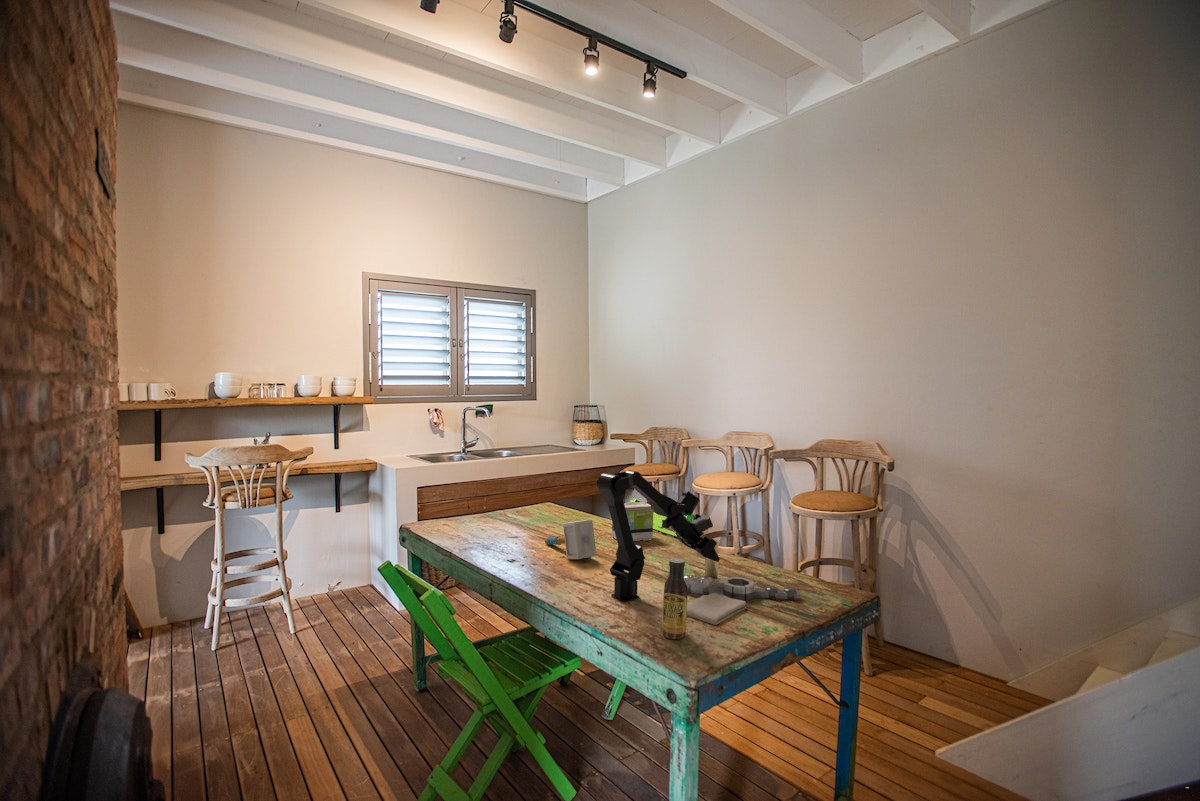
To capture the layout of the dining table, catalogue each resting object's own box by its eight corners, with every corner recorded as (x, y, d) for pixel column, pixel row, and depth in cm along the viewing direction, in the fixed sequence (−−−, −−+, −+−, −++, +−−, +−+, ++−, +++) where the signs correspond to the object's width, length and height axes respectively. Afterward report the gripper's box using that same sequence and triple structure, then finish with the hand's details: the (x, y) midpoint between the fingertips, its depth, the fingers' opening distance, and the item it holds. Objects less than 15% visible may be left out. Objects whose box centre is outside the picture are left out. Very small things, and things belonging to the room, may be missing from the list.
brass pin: (711, 582, 194) (711, 543, 193) (701, 578, 197) (702, 540, 197) (720, 580, 196) (721, 541, 196) (711, 576, 200) (711, 538, 199)
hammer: (540, 559, 236) (579, 559, 212) (536, 525, 238) (574, 522, 214) (558, 556, 241) (598, 555, 216) (554, 523, 243) (593, 519, 219)
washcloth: (748, 609, 172) (748, 598, 172) (716, 628, 159) (716, 616, 158) (713, 599, 180) (713, 589, 180) (679, 616, 167) (680, 605, 166)
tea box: (620, 543, 241) (620, 507, 240) (611, 537, 250) (611, 503, 250) (653, 540, 246) (653, 505, 246) (643, 534, 256) (643, 500, 255)
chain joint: (681, 596, 181) (681, 580, 181) (682, 586, 190) (682, 571, 190) (799, 604, 175) (799, 588, 174) (794, 593, 184) (794, 578, 184)
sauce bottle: (659, 638, 151) (659, 562, 150) (665, 629, 157) (665, 555, 156) (684, 642, 148) (684, 564, 148) (689, 632, 154) (690, 558, 154)
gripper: (711, 514, 186) (741, 546, 189) (685, 502, 203) (714, 531, 207) (688, 541, 183) (719, 572, 187) (664, 526, 201) (694, 555, 205)
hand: (712, 556), depth 197 cm, fingers open, 9 cm apart
